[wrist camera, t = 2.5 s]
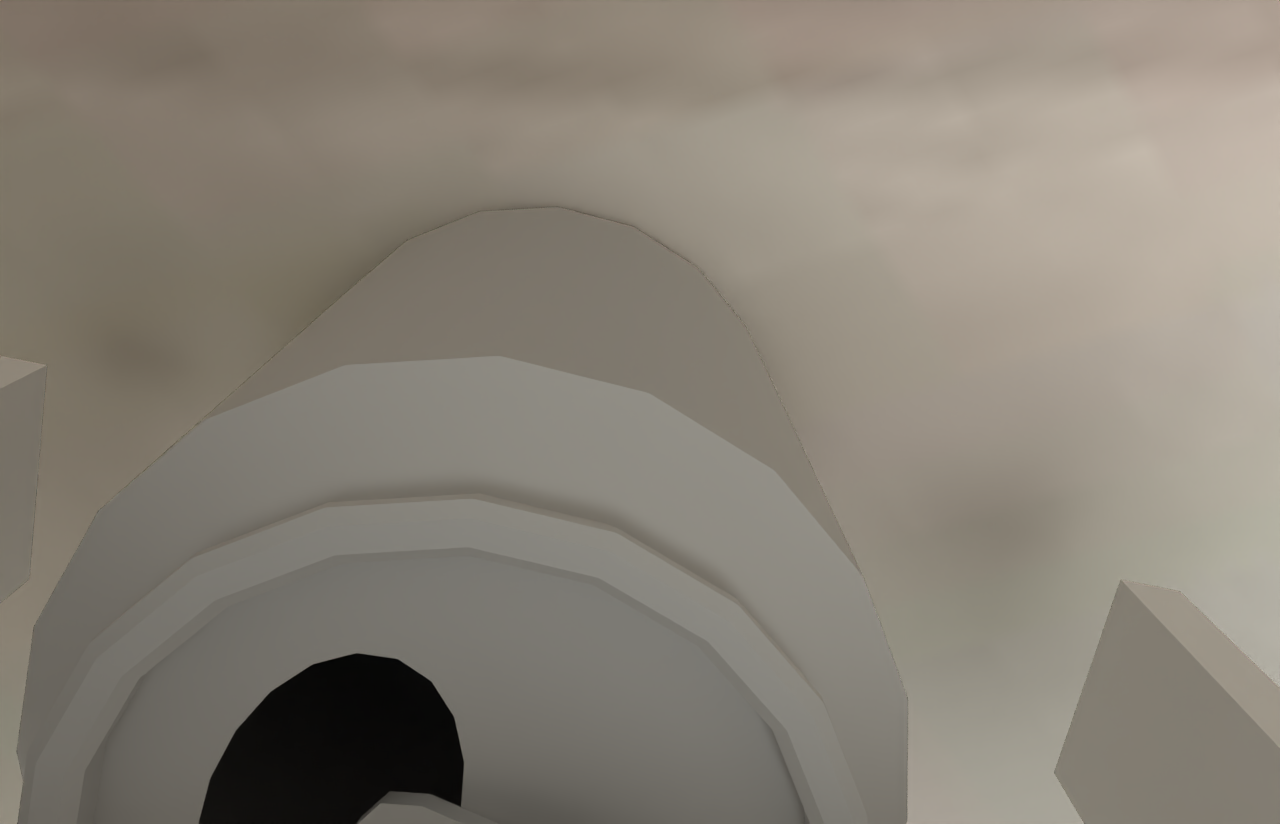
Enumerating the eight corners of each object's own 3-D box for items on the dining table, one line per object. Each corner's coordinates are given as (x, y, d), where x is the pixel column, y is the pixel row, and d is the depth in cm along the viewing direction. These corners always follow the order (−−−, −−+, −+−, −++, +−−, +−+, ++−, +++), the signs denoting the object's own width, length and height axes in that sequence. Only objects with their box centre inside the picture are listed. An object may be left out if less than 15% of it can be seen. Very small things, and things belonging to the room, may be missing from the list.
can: (408, 120, 19) (78, 228, 7) (846, 312, 20) (1165, 673, 8) (250, 538, 21) (-213, 1150, 9) (657, 695, 22) (701, 1427, 10)
